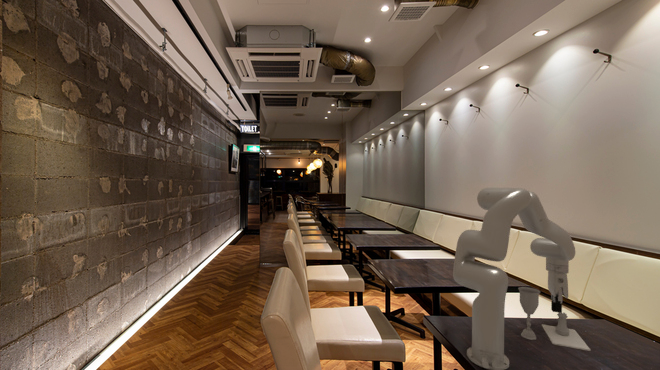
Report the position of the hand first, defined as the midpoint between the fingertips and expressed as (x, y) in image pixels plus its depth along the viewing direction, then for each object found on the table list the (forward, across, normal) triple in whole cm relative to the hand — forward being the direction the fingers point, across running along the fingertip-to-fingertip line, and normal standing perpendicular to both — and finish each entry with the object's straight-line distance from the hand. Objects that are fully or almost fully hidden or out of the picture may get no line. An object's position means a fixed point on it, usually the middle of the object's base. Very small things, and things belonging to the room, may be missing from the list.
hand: (556, 311), depth 124 cm
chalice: (+6, -15, +12) cm, 20 cm away
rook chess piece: (+6, -8, 0) cm, 10 cm away
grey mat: (+6, -10, 0) cm, 12 cm away
